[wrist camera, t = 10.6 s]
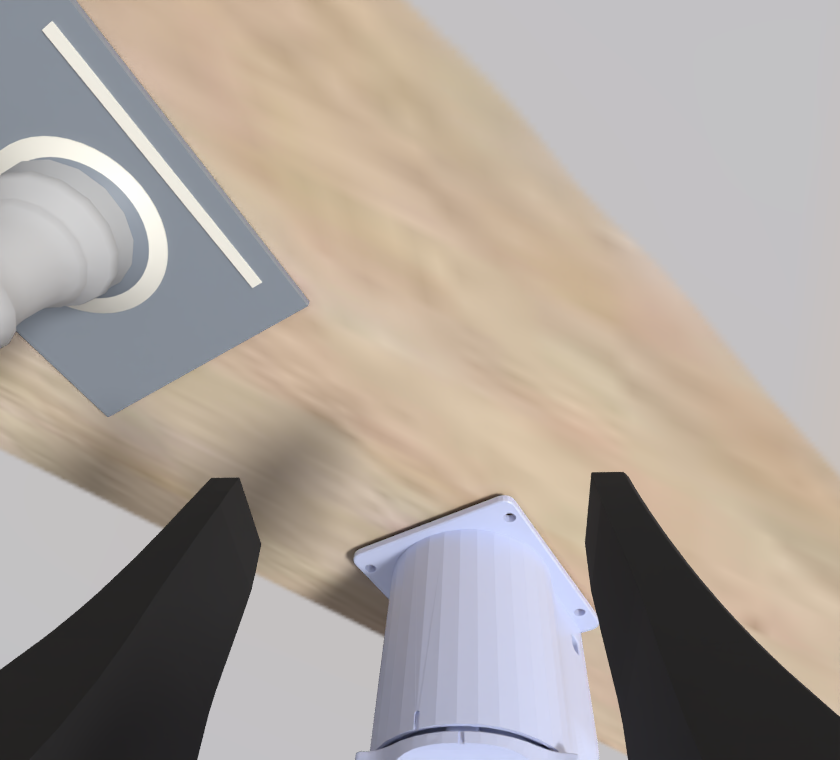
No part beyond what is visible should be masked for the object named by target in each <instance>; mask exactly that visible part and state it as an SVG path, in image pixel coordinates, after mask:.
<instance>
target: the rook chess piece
mask: <svg viewBox="0 0 840 760" xmlns="http://www.w3.org/2000/svg"><path fill="white" fill-rule="evenodd" d="M133 241H134V240H133V237H132V234H131V231H130V228H129V225H128V223H127V220H126V217H125V214H124V212H123V211H122V210H121V208H120V207H119V206H118V205H117V203H116V202H115V201H114V199H113V198H112V197H111V195H110V194H109V193H108V191H107V190H106V189H105V188H104V187H102V186H101V185H100V184H98V183H97V182H96V181H94V180H93V179H91V178H90V177H89V176H87V175H86V174H84V173H83V172H82V171H80V170H79V169H76V168H73V167H70V166H67V165H64V164H61V163H58V162H55V161H52V160H49V159H48V160H32V161H21V162H19V163H18V164H16V165H15V166H13V167H11V168H10V169H8V170H7V171H5V172H3V173H2V174H1V175H0V348H2V347H4V346H6V345H8V344H9V343H10V341H11V339H12V337H13V336H14V334H15V332H16V326H17V325H18V324H19V323H21V322H22V321H23V320H24V319H26V318H28V317H29V316H31V315H33V314H35V313H36V312H38V311H40V310H42V309H43V308H53V307H63V306H76V305H81V304H84V303H87V302H89V301H91V300H93V299H95V298H97V297H99V296H101V295H103V294H105V293H106V292H107V291H108V289H109V288H110V287H112V286H114V285H116V284H118V283H120V282H121V280H122V279H123V277H124V276H125V274H126V272H127V271H128V269H129V268H130V266H131V265H132V255H133Z"/></svg>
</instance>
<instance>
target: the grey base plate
mask: <svg viewBox="0 0 840 760" xmlns="http://www.w3.org/2000/svg"><path fill="white" fill-rule="evenodd" d="M48 159H49V160H52V161H55V162H58V163H61V164H64V165H67V166H70V167H73V168H76V169H79V170H80V171H82V172H83V173H84V174H86V175H87V176H89V177H90V178H91V179H93V180H94V181H96V182H97V183H98V184H100V185H101V186H102V187H104V188H105V189H106V190H107V191H108V193H109V194H110V195H111V197H112V198H113V199H114V201H115V202H116V203H117V205H118V206H119V207H120V208H121V210H122V211H123V212H124V214H125V217H126V220H127V223H128V225H129V228H130V231H131V234H132V237H133V240H134V241H133V255H132V265H131V266H130V268H129V269H128V271H127V272H126V274H125V276H124V277H123V279H122V280H121V282H120V283H118V284H116V285H114V286H112V287H110V288H109V289H108V291H107V292H106V293H105V294H103V295H101V296H99V297H97V298H95V299H93V300H91V301H89V302H87V303H84V304H81V305H76V306H63V307H53V308H43V309H42V310H40V311H38V312H36V313H35V314H33V315H31V316H29V317H28V318H26V319H24V320H23V321H22V322H21V323H19V324H18V325H17V326H16V331H17V332H18V333H19V334H20V335H21V336H22V337H23V338H24V339H25V340H26V341H27V342H28V343H29V344H30V345H31V346H33V347H34V348H35V349H36V350H37V351H38V352H39V353H40V354H41V355H42V356H43V357H44V358H45V359H46V360H47V361H49V362H50V363H51V364H52V365H53V366H54V367H55V368H56V369H57V370H58V371H59V372H60V373H61V374H62V375H63V376H65V377H66V378H67V379H68V380H69V381H70V382H71V383H72V384H73V385H74V386H75V387H76V388H77V389H78V390H79V391H81V392H82V393H83V394H84V395H85V396H86V397H87V398H88V399H89V400H90V401H91V402H92V403H93V404H94V405H95V406H97V407H98V408H99V409H100V410H101V411H102V412H103V413H104V414H105V415H106V416H107V417H110V416H111V415H113V414H115V413H117V412H119V411H120V410H122V409H124V408H126V407H128V406H129V405H131V404H133V403H135V402H136V401H138V400H140V399H142V398H144V397H145V396H147V395H149V394H151V393H153V392H154V391H156V390H158V389H160V388H162V387H163V386H165V385H167V384H169V383H171V382H172V381H174V380H176V379H178V378H180V377H181V376H183V375H185V374H187V373H188V372H190V371H192V370H194V369H196V368H197V367H199V366H201V365H203V364H205V363H206V362H208V361H210V360H212V359H214V358H215V357H217V356H219V355H221V354H223V353H224V352H226V351H228V350H230V349H232V348H233V347H235V346H237V345H239V344H240V343H242V342H244V341H246V340H248V339H249V338H251V337H253V336H255V335H257V334H258V333H260V332H262V331H264V330H266V329H267V328H269V327H271V326H273V325H275V324H276V323H278V322H280V321H282V320H284V319H285V318H287V317H289V316H291V315H292V314H294V313H296V312H298V311H300V310H301V309H303V308H305V307H307V306H308V304H309V300H308V299H307V298H306V296H305V295H304V294H303V293H302V291H301V290H300V289H299V287H298V286H297V285H296V284H295V282H294V281H293V280H292V278H291V277H290V276H289V275H288V273H287V272H286V271H285V269H284V268H283V267H282V266H281V264H280V263H279V262H278V260H277V259H276V258H275V256H274V255H273V254H272V253H271V251H270V250H269V249H268V247H267V246H266V245H265V244H264V242H263V241H262V240H261V238H260V237H259V236H258V235H257V233H256V232H255V231H254V229H253V228H252V227H251V226H250V224H249V223H248V222H247V220H246V219H245V218H244V216H243V215H242V214H241V213H240V211H239V210H238V209H237V207H236V206H235V205H234V204H233V202H232V201H231V200H230V198H229V197H228V196H227V195H226V193H225V192H224V191H223V189H222V188H221V187H220V185H219V184H218V183H217V182H216V180H215V179H214V178H213V176H212V175H211V174H210V173H209V171H208V170H207V169H206V167H205V166H204V165H203V164H202V162H201V161H200V160H199V158H198V157H197V156H196V155H195V153H194V152H193V151H192V149H191V148H190V147H189V145H188V144H187V143H186V142H185V140H184V139H183V138H182V136H181V135H180V134H179V133H178V131H177V130H176V129H175V127H174V126H173V125H172V124H171V122H170V121H169V120H168V118H167V117H166V116H165V115H164V113H163V112H162V111H161V109H160V108H159V107H158V105H157V104H156V103H155V102H154V100H153V99H152V98H151V96H150V95H149V94H148V93H147V91H146V90H145V89H144V87H143V86H142V85H141V84H140V82H139V81H138V80H137V78H136V77H135V76H134V74H133V73H132V72H131V71H130V69H129V68H128V67H127V65H126V64H125V63H124V62H123V60H122V59H121V58H120V56H119V55H118V54H117V53H116V51H115V50H114V49H113V47H112V46H111V45H110V44H109V42H108V41H107V40H106V38H105V37H104V36H103V34H102V33H101V32H100V31H99V29H98V28H97V27H96V25H95V24H94V23H93V22H92V20H91V19H90V18H89V16H88V15H87V14H86V13H85V11H84V10H83V9H82V7H81V6H80V5H79V4H78V2H77V1H76V0H0V175H1V174H2V173H3V172H5V171H7V170H8V169H10V168H11V167H13V166H15V165H16V164H18V163H19V162H21V161H32V160H48Z"/></svg>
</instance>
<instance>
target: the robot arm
mask: <svg viewBox="0 0 840 760" xmlns="http://www.w3.org/2000/svg"><path fill="white" fill-rule="evenodd" d="M508 513H512V514H513V515H506V514H508ZM260 547H261V542H260V539H259V536H258V533H257V530H256V527H255V524H254V521H253V518H252V515H251V512H250V509H249V506H248V503H247V500H246V497H245V494H244V491H243V488H242V485H241V481H240V478H211V479H210V480H209V481H208V482H207V483H206V484H205V485H204V486H203V487H202V488H201V489H200V490H199V491H198V493H197V494H196V495H195V496H194V497H193V498H192V499H191V500H190V501H189V502H188V503H187V504H186V505H185V506H184V507H183V508H182V509H181V511H180V512H179V513H178V514H177V515H176V516H175V517H174V518H173V519H172V520H171V521H170V522H169V523H168V524H167V525H166V526H165V528H164V529H163V530H162V531H161V532H160V533H159V534H158V535H157V536H156V537H155V538H154V539H153V540H152V541H151V542H150V543H149V544H148V545H147V546H146V547H145V548H144V549H143V550H142V551H141V552H140V553H139V554H138V555H137V556H136V557H135V558H134V559H133V560H132V561H131V562H130V563H129V564H128V565H127V566H126V567H125V568H124V569H123V570H122V571H121V572H120V573H119V574H118V575H116V576H115V577H114V578H113V579H112V580H111V581H110V582H109V583H108V584H107V585H106V586H105V587H104V588H103V589H102V590H101V591H100V592H98V594H96V595H95V596H94V597H93V598H92V599H91V600H89V601H88V602H87V603H86V604H85V605H84V606H82V607H81V608H80V609H79V610H78V611H77V612H75V613H74V614H73V615H72V616H70V617H69V618H68V619H67V620H66V621H65V622H63V623H62V624H61V625H59V626H58V627H57V628H56V629H55V630H53V631H52V632H51V633H49V634H48V635H47V636H46V637H44V638H43V639H42V640H40V641H39V642H38V643H36V644H35V645H33V646H32V647H31V648H30V649H28V650H27V651H25V652H24V653H23V654H21V655H20V656H18V657H17V658H16V659H14V660H13V661H12V662H10V663H9V664H8V665H6V666H5V667H3V668H2V669H1V670H0V760H197V758H198V754H199V750H200V746H201V742H202V738H203V734H204V730H205V726H206V722H207V718H208V714H209V711H210V708H211V705H212V701H213V698H214V695H215V691H216V689H217V686H218V683H219V680H220V678H221V675H222V672H223V669H224V666H225V664H226V661H227V658H228V655H229V652H230V650H231V647H232V644H233V641H234V638H235V635H236V633H237V630H238V627H239V624H240V621H241V619H242V616H243V613H244V610H245V607H246V604H247V601H248V598H249V595H250V592H251V589H252V584H253V580H254V576H255V572H256V567H257V562H258V557H259V552H260ZM585 547H586V555H587V563H588V571H589V578H590V585H591V592H592V596H593V601H594V605H595V609H596V612H595V611H594V610H593V608H592V607H591V605H590V604H589V603H588V601H587V600H586V599H585V597H584V596H583V594H582V593H581V592H580V590H579V589H578V587H577V586H576V585H575V583H574V582H573V580H572V579H571V578H570V576H569V575H568V573H567V572H566V571H565V569H564V568H563V567H562V565H561V564H560V562H559V561H558V560H557V558H556V557H555V555H554V554H553V553H552V551H551V550H550V548H549V547H548V546H547V544H546V543H545V541H544V540H543V539H542V537H541V536H540V534H539V533H538V532H537V530H536V529H535V528H534V526H533V525H532V523H531V522H530V521H529V519H528V518H527V516H526V515H525V514H524V512H523V511H522V509H521V508H520V507H519V505H518V504H517V502H516V501H515V500H514V499H513V498H512V497H510V496H506V495H501V496H497V497H495V498H492V499H489V500H487V501H484V502H482V503H479V504H476V505H474V506H471V507H468V508H466V509H463V510H461V511H458V512H455V513H453V514H450V515H447V516H445V517H442V518H440V519H437V520H434V521H432V522H429V523H426V524H424V525H421V526H418V527H416V528H413V529H411V530H408V531H405V532H403V533H400V534H397V535H395V536H392V537H390V538H387V539H384V540H382V541H379V542H376V543H374V544H371V545H369V546H366V547H363V548H361V549H358V550H357V551H356V552H355V554H354V563H355V565H356V566H357V567H358V568H359V569H360V570H361V571H362V572H363V573H364V574H365V575H366V576H367V577H368V578H369V579H370V580H371V581H372V582H373V583H374V584H375V585H376V586H377V587H378V588H379V590H380V591H381V592H382V593H383V594H384V595H385V596H386V597H387V598H388V599H389V605H388V613H387V621H386V629H385V637H384V645H383V652H382V661H381V668H380V676H379V684H378V692H377V701H376V708H375V715H374V723H373V731H372V739H371V747H370V751H360V752H357V753H356V757H355V760H599V749H598V742H597V735H596V729H595V722H594V716H593V709H592V703H591V696H590V690H589V683H588V677H587V670H586V664H585V657H584V651H583V644H582V638H581V633H582V632H586V631H589V630H592V629H595V628H596V627H597V626H598V625H600V630H601V634H602V638H603V642H604V646H605V650H606V654H607V658H608V662H609V666H610V670H611V674H612V678H613V682H614V686H615V690H616V694H617V698H618V703H619V708H620V713H621V718H622V723H623V729H624V735H625V742H626V749H627V755H628V760H840V716H838V715H837V714H836V713H835V712H834V711H832V710H831V709H830V708H829V707H828V706H827V705H826V704H825V703H823V702H822V701H821V700H820V699H819V698H818V697H817V696H815V695H814V694H813V693H812V692H811V691H810V690H809V689H808V688H806V687H805V686H804V685H803V684H802V683H801V682H800V681H798V680H797V679H796V678H795V677H794V676H793V675H792V674H791V673H789V672H788V671H787V670H786V669H785V668H784V667H783V666H782V665H781V664H780V663H779V662H778V661H777V660H776V659H774V658H773V657H772V656H771V655H770V654H769V653H768V652H767V651H766V650H765V649H764V648H763V647H762V646H761V645H760V644H759V643H758V642H757V641H756V640H755V639H754V638H753V637H752V636H751V635H750V634H749V633H748V632H747V631H746V630H745V629H744V628H743V626H742V625H741V624H740V623H739V622H738V621H737V620H736V619H735V618H734V617H733V616H732V615H731V614H730V613H729V612H728V610H727V609H726V608H725V607H724V606H723V605H722V604H721V603H720V601H719V600H718V599H717V598H716V597H715V596H714V594H713V593H712V592H711V591H710V590H709V589H708V587H707V586H706V585H705V584H704V583H703V581H702V580H701V579H700V578H699V577H698V575H697V574H696V573H695V572H694V570H693V569H692V568H691V567H690V565H689V564H688V563H687V562H686V560H685V559H684V558H683V556H682V555H681V554H680V552H679V551H678V550H677V548H676V547H675V546H674V544H673V543H672V542H671V541H670V539H669V538H668V537H667V535H666V534H665V532H664V531H663V530H662V528H661V527H660V525H659V524H658V522H657V521H656V519H655V518H654V517H653V515H652V514H651V512H650V511H649V509H648V508H647V506H646V505H645V503H644V502H643V500H642V498H641V497H640V495H639V494H638V492H637V490H636V489H635V487H634V485H633V484H632V482H631V480H630V479H629V477H628V476H627V475H626V474H625V473H624V472H592V473H591V483H590V494H589V505H588V516H587V527H586V538H585ZM596 613H597V614H596Z"/></svg>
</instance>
